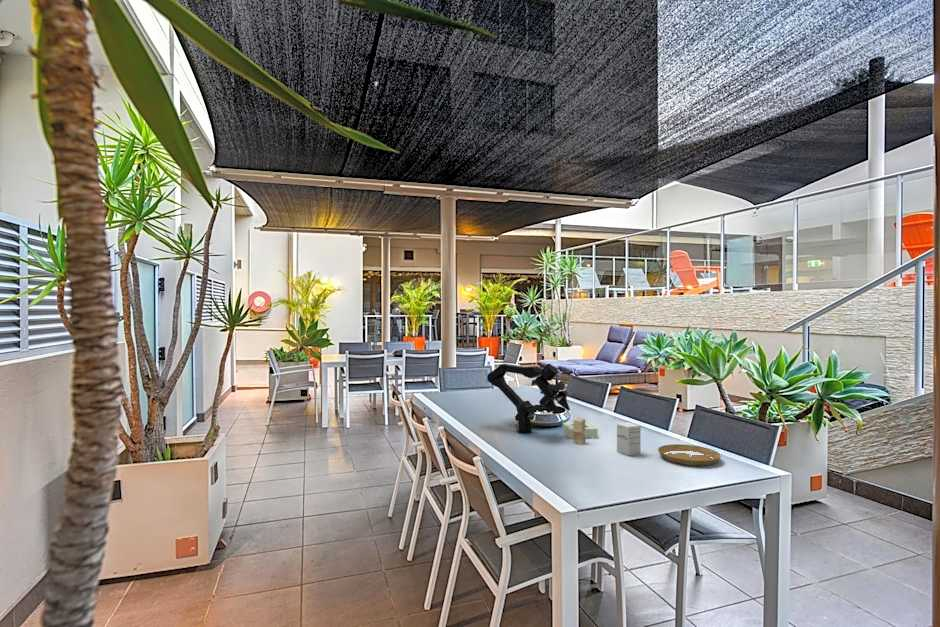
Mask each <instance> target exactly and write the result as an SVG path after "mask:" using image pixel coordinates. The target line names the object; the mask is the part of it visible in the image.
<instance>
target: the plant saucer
mask: <svg viewBox="0 0 940 627" xmlns="http://www.w3.org/2000/svg"><path fill="white" fill-rule="evenodd" d="M657 450H658V453H659V454H660V456H662V457H663V458H664V459H666V460H667V461H669V462H671V461H672V462H671V463H674V462H675V464H678V463H680V464H679V465H683V464H685V465H684V466H690V465H706V466H711V465H713V464H715V463H717V462H718V461H719V460H720V458H721V456H722V455H721V454H720V452H718V451H717V450H714V449H711V448H709V447H708V448H707V447H704V446H699V445H691V444H681V443H679V444H677V443H676V444H675V443H674V444H664V445H662V446H659V447H658V448H657ZM670 451H693V452H699V453H702V454H704V455H692V456H691V455H690V454H686V453H677V454H676V453H675V454H672V453H668V454H664V453H666V452H670ZM689 455H690V456H691V457H690V456H689ZM707 455H708V456H707ZM710 457H712V458H713V459H712V458H710ZM710 464H711V465H710Z"/></svg>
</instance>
